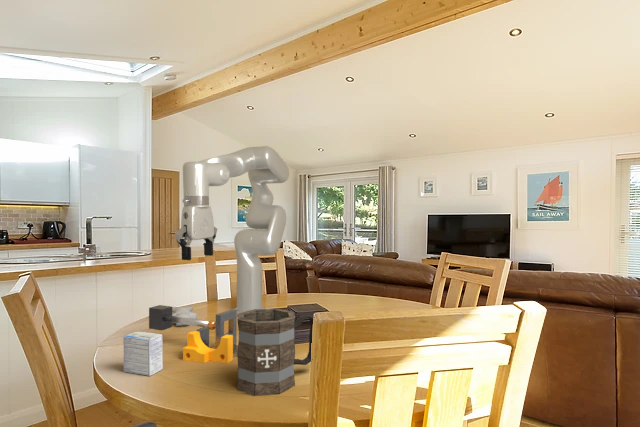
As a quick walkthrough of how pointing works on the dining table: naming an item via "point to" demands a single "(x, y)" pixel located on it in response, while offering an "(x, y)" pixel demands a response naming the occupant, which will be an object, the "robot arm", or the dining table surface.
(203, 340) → the grey square ring
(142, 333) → the medicine box
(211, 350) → the pipe clamp
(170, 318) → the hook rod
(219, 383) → the dining table surface
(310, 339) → the mug
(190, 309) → the light grey rounded piece
